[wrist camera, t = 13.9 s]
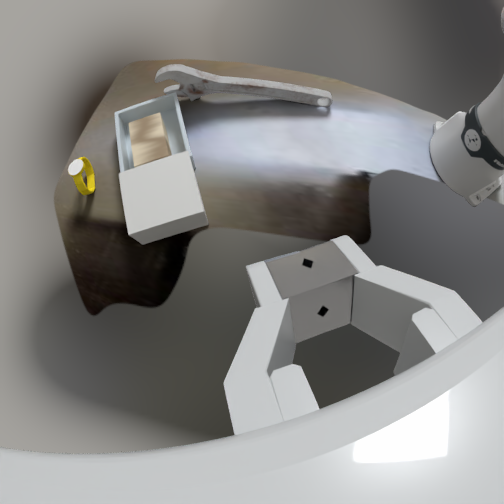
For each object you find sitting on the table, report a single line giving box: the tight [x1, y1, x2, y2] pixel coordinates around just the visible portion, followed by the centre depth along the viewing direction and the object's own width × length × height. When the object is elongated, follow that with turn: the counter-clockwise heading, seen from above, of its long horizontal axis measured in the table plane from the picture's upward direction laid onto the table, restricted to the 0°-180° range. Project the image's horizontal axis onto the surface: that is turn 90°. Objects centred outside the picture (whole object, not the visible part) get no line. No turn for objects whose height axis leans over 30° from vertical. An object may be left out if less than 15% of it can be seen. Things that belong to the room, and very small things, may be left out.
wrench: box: [155, 64, 332, 107], centre depth 43 cm, size 8×2×30 cm
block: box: [129, 112, 172, 167], centre depth 40 cm, size 5×5×8 cm
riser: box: [119, 151, 209, 245], centre depth 39 cm, size 10×9×6 cm
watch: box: [68, 157, 95, 195], centre depth 39 cm, size 6×3×6 cm, turn 15°
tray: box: [115, 92, 195, 172], centre depth 41 cm, size 11×13×4 cm
